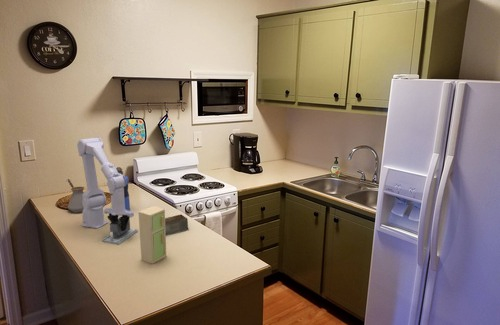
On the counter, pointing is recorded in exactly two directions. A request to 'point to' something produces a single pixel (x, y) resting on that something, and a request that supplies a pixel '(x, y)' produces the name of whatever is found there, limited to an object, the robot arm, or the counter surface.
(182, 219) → the beverage carton
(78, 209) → the coffee pot
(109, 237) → the tray
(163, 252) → the toy refrigerator
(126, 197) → the water bottle
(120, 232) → the block
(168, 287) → the counter surface
